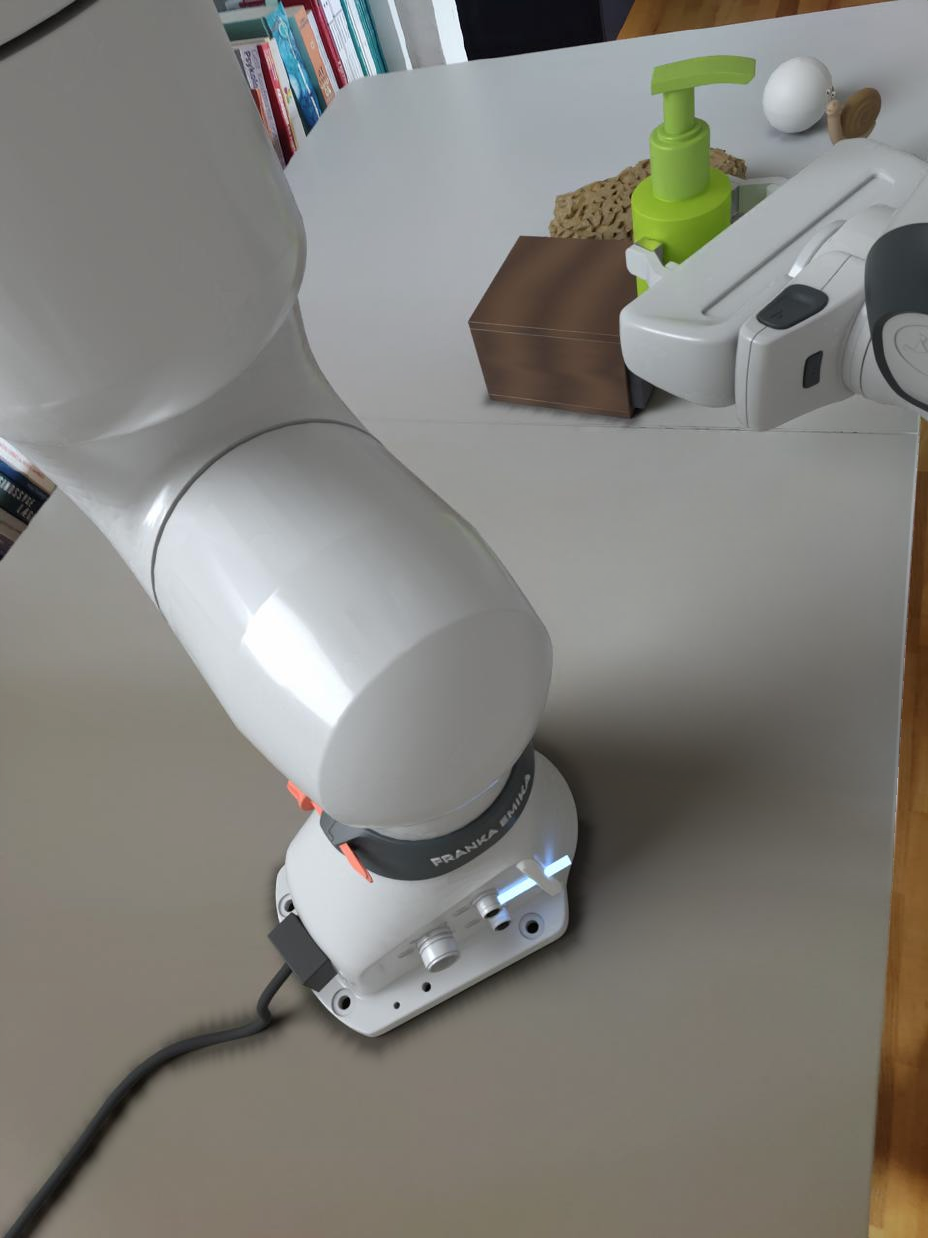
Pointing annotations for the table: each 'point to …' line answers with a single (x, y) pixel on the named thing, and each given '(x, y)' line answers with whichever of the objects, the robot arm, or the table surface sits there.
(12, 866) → the table surface
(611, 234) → the sponge
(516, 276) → the cabinet
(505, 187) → the table surface
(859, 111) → the snail figurine
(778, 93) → the white egg
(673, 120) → the soap dispenser
